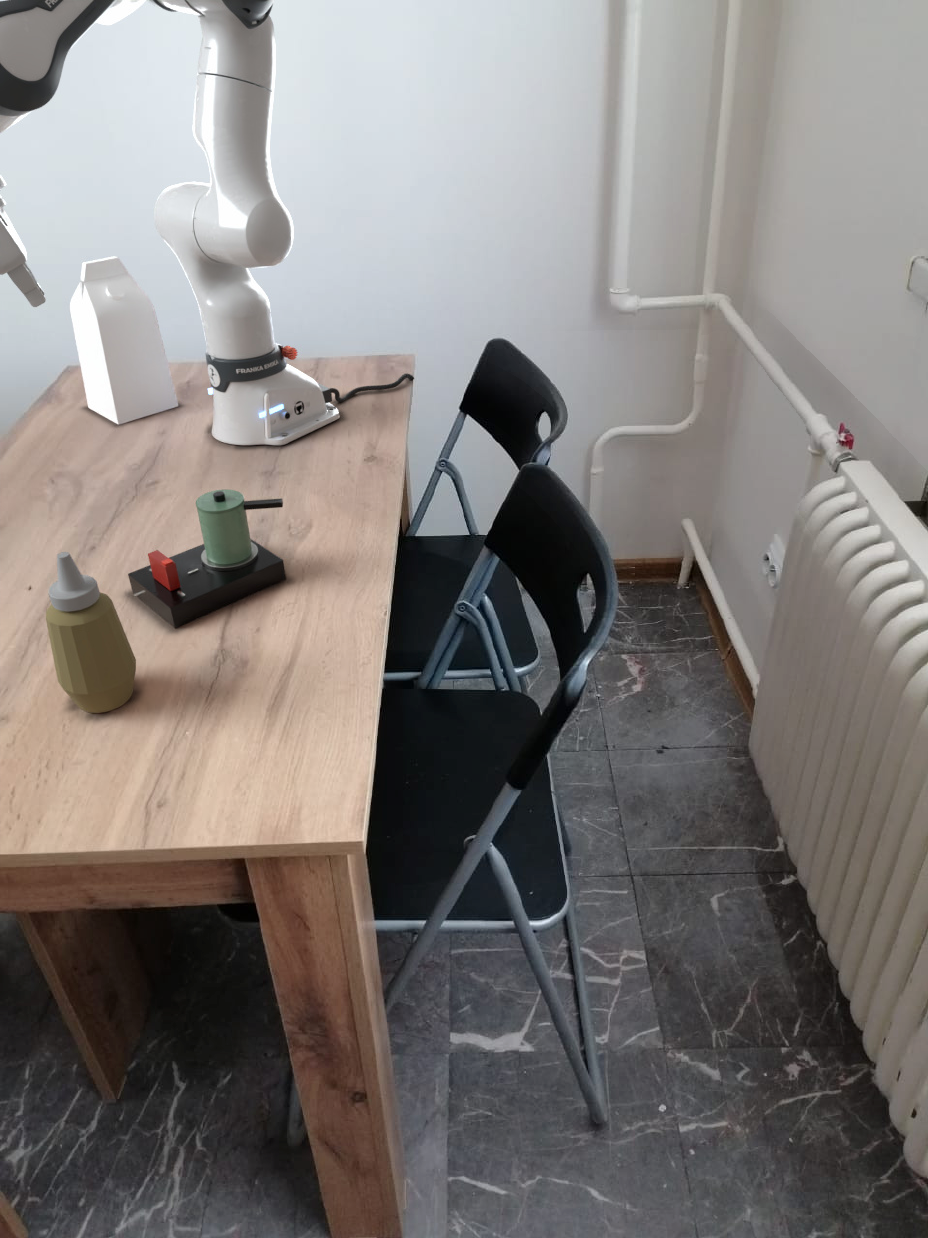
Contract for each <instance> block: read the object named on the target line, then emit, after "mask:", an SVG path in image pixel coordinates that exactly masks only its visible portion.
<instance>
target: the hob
mask: <svg viewBox="0 0 928 1238" xmlns="http://www.w3.org/2000/svg"><path fill="white" fill-rule="evenodd" d="M250 539H251V542H252V543H254V544H255V545H256V546H257V548H258V557H257V559H256V560H255V561H254V562H253V563H252V564H250V565H248V566H246V567H244V568H241V569H237V570H232V571H215V570H211V569H209V568H207V567H205V566H204V565H203V563H202V560H201V554H202V552H203V551H204V550H205V546H204V543H202V544H199V545H197V546H195V547H192V548H190V549H187V550H184V551H182V552H179V553H177V554H174V555H172V556H169V557H168V558H170V559H171V560H172V561H173V562H175V564H176V568H177V573H178V577H179V582H180V586H181V587H180V588H177V589H175V590H173V591H170V590H168V589H167V588H166V587H165V586H163V585H162V584H161V583H160V582H158V581H157V580H156V579H154V578H153V574H152V570H151V566H150V564H149V565H147V566H144V567H142V568H139V569H136V570H134V571H131V572H129V573H127V576H128V580H129V583H130V588H131V592H132V595H133V596H134V597H136V598H137V599H139V600H140V602H142V603H144V604H145V605H146V606H147V607H148V608H149V609H151V610H152V611H153V612H154V613H156V614H157V615H158V616H159V617H160V618H162V619H163V620H164V621H165V622H166V623H168V624H169V625H170V626H171V627H172V628H174V629H178V628H181V627H183V626H185V625H188V624H189V623H192V622H194V621H197V620H199V619H201V618H202V617H205V616H208V615H210V614H212V613H214V612H217V611H218V610H221V609H223V608H226V607H227V606H230V605H233V604H234V603H237V602H239V601H242V600H243V599H246V598H248V597H250V596H253V595H254V594H257V593H259V592H261V591H264V590H266V589H269V588H270V587H273V586H276V585H277V584H280V583H282V582H284V581H286V580H287V577H286V570H285V563H284V559H283V558H281V557H279V556H278V555H277V554H275V553H273V552H272V551H271V550H269V549H268V548H266V547H265V546H262V545H261V544H260V543H258V542H256V541H255V540H253V539H252V538H250Z"/></svg>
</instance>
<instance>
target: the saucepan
mask: <svg viewBox="0 0 928 1238" xmlns="http://www.w3.org/2000/svg"><path fill="white" fill-rule="evenodd" d="M195 507H196V511H197V517H198V521H199V525H200V530H201V537H202V540H203V544H204V546H205V551H206V556H207V559H208V560H209V561H211V562H213V563H216V564H233V563H237V562H240V561H242V560H244V559H246V558H248V557H249V556H250V555H251V553H252V545H251V539H252V538H251V534H250V528H249V522H248V515H247V511H249V510H251V511H253V510H263V509H278V508H283V507H284V500H283V498H282V497H281V498H269V499H256V500H254V499H253V500H245V496H244V494H243V493H242V492H240V491H238V490H235V489H215V490H211V491H208V492H206V493H203V494H201V495H200V496H198V497H197V499H196V500H195Z"/></svg>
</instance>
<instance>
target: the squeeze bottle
mask: <svg viewBox="0 0 928 1238" xmlns="http://www.w3.org/2000/svg"><path fill="white" fill-rule="evenodd" d="M56 566H57V567H56V568H57V569H56V570H57V572H56V573H57V580H56V581H55V582H53V583H52V584H51V585H50V586H49V588H48V596H49V601H50V603H51V604H50V605H49V607H47V609H46V611H45V622H46V627H47V632H48V637H49V642H50V648H51V654H52V659H53V664H54V668H55V674H56V678H57V679H56V680H57V683H58V684H59V686H60V687H61V688H62V690H63V691H64V692H65V693H66V694H67V695H68V696H69V697H70V699H71V700H72V701H73V702H74V704H75V705H76V706H77V707H78V708H79V709H80V710H81V711H84V712H86V713H93V714H100V713H106V712H111V711H114V710H116V709H118V708H120V707H122V706H123V705H124V704H125V703H127V702H128V701H129V700H130V698H131V697H132V695H133V694H134V687H135V686H134V685H135V678H136V672H137V658H136V656H135V653H134V651H133V648H132V646H131V644H130V642H129V640H128V639H129V638H128V637H127V635H126V632H125V629H124V627H123V624H122V621H121V619H120V617H119V615H118V612H117V610H116V608H115V605H114V602H113V600H112V598H111V597H110V596H109V595H108V594H106V593H103V592H101V591H100V588H99V585H98V582H97V580H96V578H95V577H93V576H91V575H88V574H82V573H81V571H80V569H79V567H78V566H77V564H76V562H75V561H74V559H73V557H72V556H71V554H70V552H68V551H63V552H62V551H61V552H59V553H58V554H57V555H56Z"/></svg>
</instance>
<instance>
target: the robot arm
mask: <svg viewBox="0 0 928 1238" xmlns="http://www.w3.org/2000/svg"><path fill="white" fill-rule="evenodd" d="M145 2H148V3H150V4H151V5H152V6H154V7H156V8H158V9H162V10H164V11H167V12H171V13H176V12H181V13H184V14H191V15H197V17H198V21H199V24H200V29H201V31H202V32H201V33H202V38H201V44H200V49H199V57H198V62H197V63H198V64H197V72H196V74H197V75H196V85H195V97H194V108H193V120H192V123H193V124H192V133H193V137H194V139H195V140H196V143H197V144H198V145H199V146H200V147H201V149H202V150H203V152H204V154H205V157H206V160H207V165H208V169H209V170H208V171H209V177H210V183H206V182H198V181H189V182H182V183H178V184H173V185H171V186H168V187H166V188H164V190H162V192H160V194H159V195H158V197H157V199H156V202H155V204H154V209H153V220H154V225H155V228H156V231H157V233H158V235H159V237H160V238H161V240H163V241H164V243H166V245H167V246H168V247H169V248H170V249H171V251H172V252H173V253H174V255H175V256H176V258H177V260H178V262H179V264H180V266H181V267H182V270H183V271H184V274H185V276H186V278H187V280H188V283H189V285H190V287H191V289H192V292H193V294H194V298H195V300H196V302H197V305H198V310H199V314H200V319H201V323H202V329H203V335H204V339H205V345H206V350H205V361H206V367H207V374H208V379H209V382H210V386H211V387H208V388H207V393H208V395H212V404H213V405H212V411H213V415H212V426H211V435H212V437H213V438H214V439H215V440H217V441H219V442H222V443H224V444H229V445H235V446H256V445H257V446H259V445H267V446H284V445H287V444H289V443H291V442H293V441H295V440H298V439H299V438H301V437H303V436H305V435H307V434H309V433H312V432H314V431H316V430H319V429H320V428H322V427H324V426H327V425H328V424H331V423H332V422H335V421H337V420H339V419H340V411H339V409H338V407H336V406H335V405H333V404H332V402H333V396H332V394H334V400H335V401H336V402H338V403H343V402H345V401H347V400H348V399H350V398H351V397H353V396H354V395H356V394H357V393H361V392H367V391H368V392H369V391H383V390H391V389H394V388H396V387H398V386H399V385H401V384H402V383H403V381H404V380H406V379H408V380H409V381H410V380H411V381H413V380H415V377H414V376H413V374H410V373H407V372H406V373H403V374H402V375H401V376H399V378H398V379H397V380H395V381H394V382H391V383H388V384H378V385H377V384H376V385H364V386H363V385H362V386H358V387H356V388H353V389H351V390H350V391H349V392H347V394H345V395H344V396H342V397H341V395H340V391H339V390H338V389H337V388H335V387H328V386H326V385H323V384H321V383H319V382H317V381H316V380H315V379H314V378H313V377H311V376H309V375H308V374H306V373H304V372H303V371H301V370H299V369H297V368H295V367H294V366H292V365H290V364H288V362H287V360H286V358H287V359H288V360H289V361H295V360H296V359H297V357H298V353H299V352H298V350H297V349H296V347H292V346H290V345H285V346H284V345H282V344H280V343H277V342H276V341H275V333H274V326H273V319H272V312H271V303H270V300H269V298H268V296H267V294H266V293H265V291H264V290H263V289H262V288H261V286H260V285H259V284H258V283H257V282H256V281H255V279H254V277H253V276H252V274H251V272H250V269H261V268H268V267H269V268H270V267H274V266H278V265H280V264H281V263H282V262H283V261H284V260H285V259H286V258H287V257H288V256H289V253H290V251H291V249H292V246H293V244H294V243H293V242H294V235H295V234H294V230H295V229H294V223H293V218H292V217H291V214H290V212H289V210H288V209H287V207H286V206H285V204H284V203H283V202H282V200H281V198H280V196H279V194H278V190H277V188H276V184H275V181H274V175H273V172H272V171H273V170H272V163H271V154H270V151H271V150H270V144H271V143H270V141H271V128H272V117H273V105H274V97H275V95H274V94H275V83H276V38H275V36H276V35H275V27H274V23H273V19H272V17H271V16H270V14H271V11H272V10H273V6H274V2H275V0H0V134H2V133H4V132H6V131H7V130H9V129H10V128H11V127H13V126H14V125H16V124H17V123H18V122H19V121H21V120H22V119H23V118H25V117H26V116H27V115H29V114H30V113H32V112H34V111H36V110H38V109H41V108H43V107H44V106H46V105H47V104H48V103H49V102H50V101H51V100H52V99H53V97H54V96H55V94H56V92H57V90H58V88H59V84H60V81H61V78H62V73H63V70H64V69H63V68H64V65H65V61H66V59H67V56H68V53H69V52H70V50H71V49H72V48H73V47H74V46H75V45H76V44H77V43H78V41H80V40H81V38H82V37H83V36H85V34H86V33H87V32H88V31H89V30H90V29H91V28H92V27H93V26H94V25H95V24H96V23H98V24H100V25H104V26H105V25H106V26H112V25H113V24H115V23H117V22H119V21H121V20H122V19H124V18H126V17H127V16H129V15H130V14H132V13H134V12H135V11H136V10H137V9H138V8H140V7H141V6H142V5H143V4H145ZM6 186H7V182H6V181H5V180H4V178H3V177H2V175H1V174H0V191H1V190H2V189H3V188H5V187H6ZM6 205H7V202H6V200H5V199H4V198H3V197H2V195H1V194H0V276H3V275H5V274H7V275H8V278H9V279H10V280H11V281H12V283H13V284H14V285H15V287H17V288H18V289H19V291H20V292H21V293H22V294H23V296H24V297H25V299H26V300H27V302H28V303H29V304H30V305H31V306H32V307H33V308H37V307H39V306H42V305H43V304H45V302H46V299H47V298H46V296H45V291H44V290H43V288H42V287H41V285H40V284H39V282H38V280H37V279H36V277H35V275H34V274H33V271H32V270H31V268H30V267H29V266H28V264H27V260H28V253H27V250H26V247H25V245H24V244H23V242H22V240H21V238H20V236H19V234H18V233H17V231H16V229H15V227H14V225H13V223H12V221H11V219H10V217H9V216H8V214H7V211H6V210H5V208H4V207H5V206H6Z"/></svg>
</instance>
